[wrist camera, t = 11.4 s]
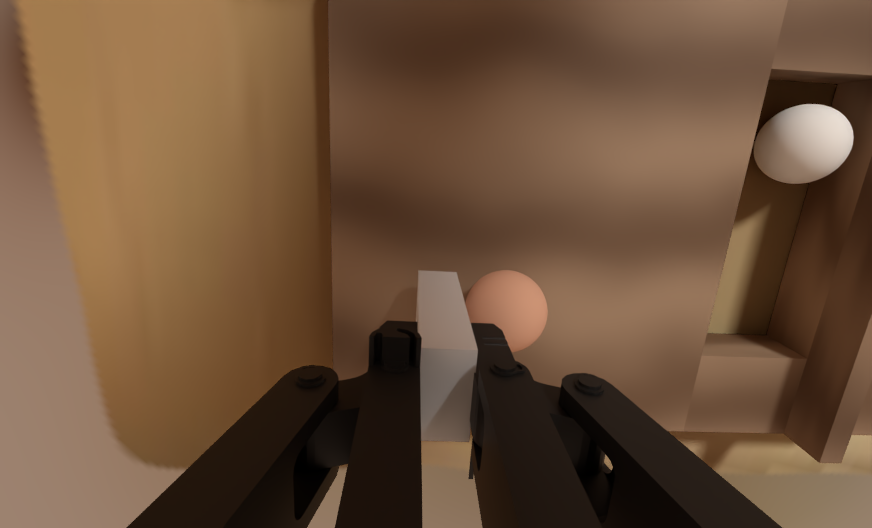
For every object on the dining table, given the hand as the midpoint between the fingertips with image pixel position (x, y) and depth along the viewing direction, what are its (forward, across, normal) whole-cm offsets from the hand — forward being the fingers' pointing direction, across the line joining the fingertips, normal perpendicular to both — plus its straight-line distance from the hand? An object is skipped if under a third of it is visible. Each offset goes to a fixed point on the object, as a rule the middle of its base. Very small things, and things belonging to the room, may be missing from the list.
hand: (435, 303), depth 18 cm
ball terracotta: (0, +3, 0) cm, 3 cm away
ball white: (+2, +15, +7) cm, 17 cm away
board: (+4, +9, +4) cm, 10 cm away
